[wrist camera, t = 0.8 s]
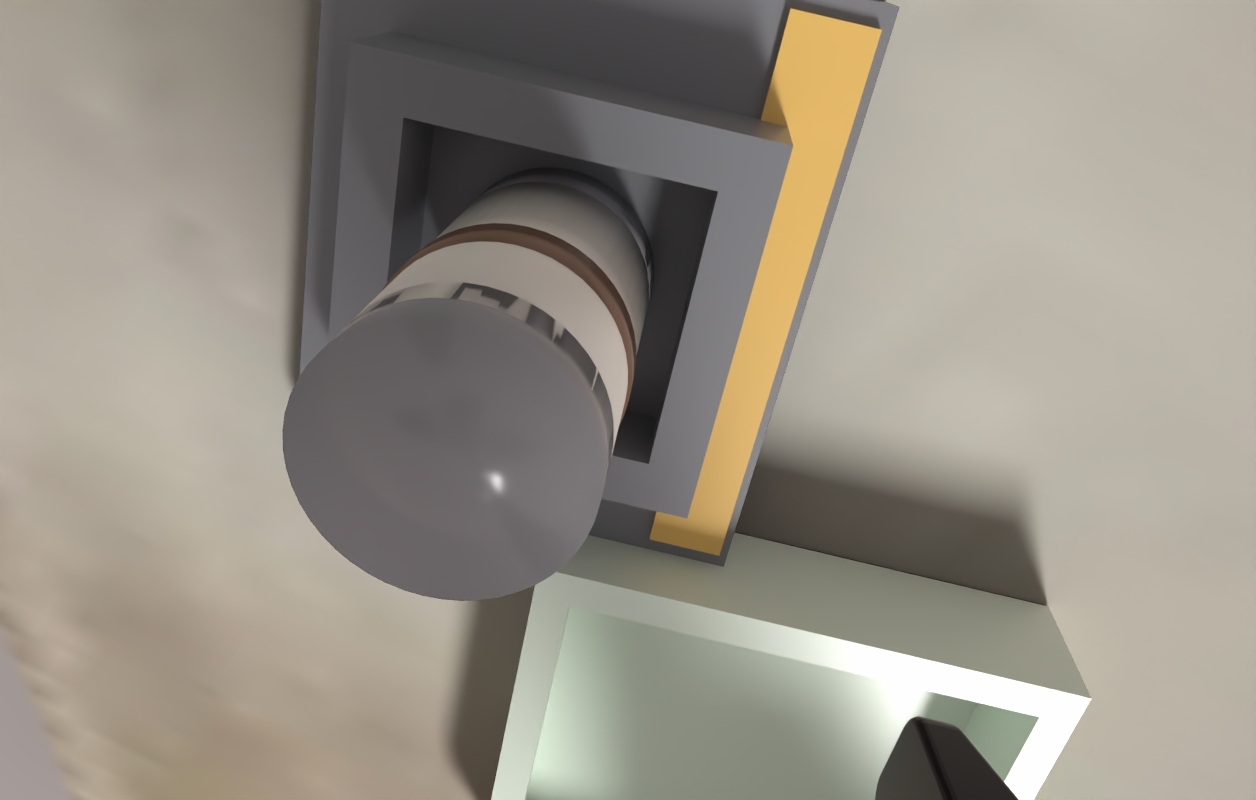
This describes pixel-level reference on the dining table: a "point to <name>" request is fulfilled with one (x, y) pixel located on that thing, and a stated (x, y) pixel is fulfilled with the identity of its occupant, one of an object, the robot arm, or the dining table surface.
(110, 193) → the dining table surface
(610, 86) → the holder
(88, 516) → the dining table surface
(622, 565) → the tray
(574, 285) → the cylinder
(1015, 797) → the robot arm
